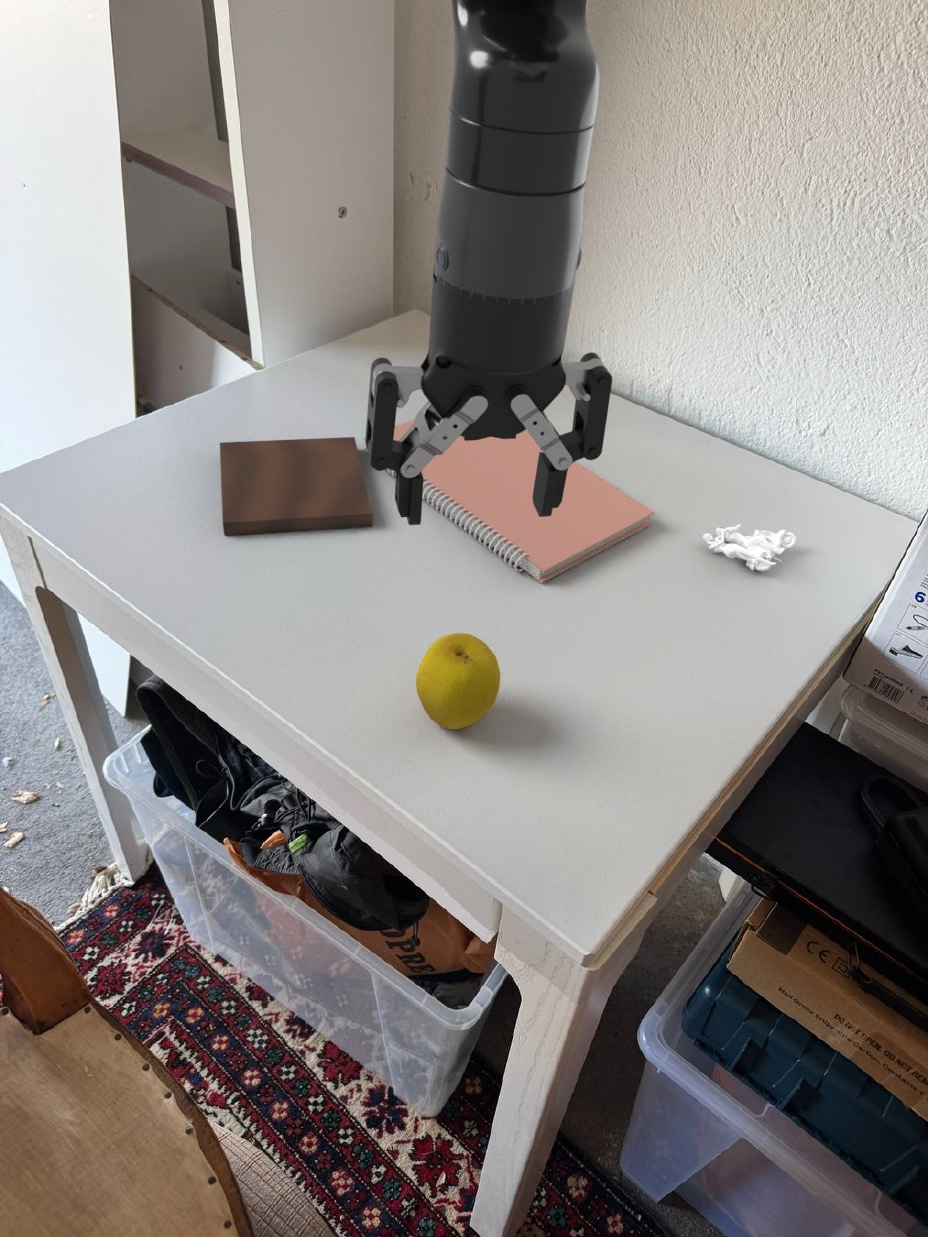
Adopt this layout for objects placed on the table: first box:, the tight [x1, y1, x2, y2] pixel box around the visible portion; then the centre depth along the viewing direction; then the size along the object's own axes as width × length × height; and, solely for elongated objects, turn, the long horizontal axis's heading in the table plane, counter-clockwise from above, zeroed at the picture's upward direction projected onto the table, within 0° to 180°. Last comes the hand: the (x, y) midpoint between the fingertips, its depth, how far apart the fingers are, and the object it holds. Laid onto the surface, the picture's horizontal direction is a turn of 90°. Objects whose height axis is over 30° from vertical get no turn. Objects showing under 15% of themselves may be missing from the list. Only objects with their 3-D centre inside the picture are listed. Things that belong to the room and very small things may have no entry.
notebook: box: [364, 418, 656, 584], centre depth 96 cm, size 27×17×2 cm, turn 41°
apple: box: [415, 632, 501, 730], centre depth 70 cm, size 6×6×8 cm
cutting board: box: [219, 436, 374, 536], centre depth 93 cm, size 14×14×2 cm
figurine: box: [702, 523, 797, 572], centre depth 91 cm, size 3×8×8 cm
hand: (477, 513), depth 59 cm, fingers open, 8 cm apart
